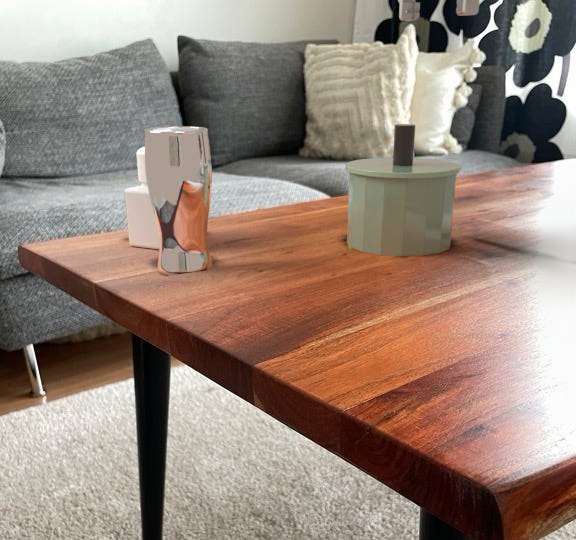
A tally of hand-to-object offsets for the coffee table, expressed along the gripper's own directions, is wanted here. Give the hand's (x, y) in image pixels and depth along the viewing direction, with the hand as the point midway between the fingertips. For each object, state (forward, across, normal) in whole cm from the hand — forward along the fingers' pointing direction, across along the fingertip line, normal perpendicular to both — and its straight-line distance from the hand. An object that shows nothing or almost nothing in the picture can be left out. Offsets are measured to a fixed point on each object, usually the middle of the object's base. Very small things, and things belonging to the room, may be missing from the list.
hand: (436, 18), depth 78 cm
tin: (+26, +3, +1) cm, 26 cm away
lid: (+16, +3, +1) cm, 16 cm away
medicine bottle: (+25, +20, +25) cm, 41 cm away
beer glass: (+25, +7, +28) cm, 39 cm away
